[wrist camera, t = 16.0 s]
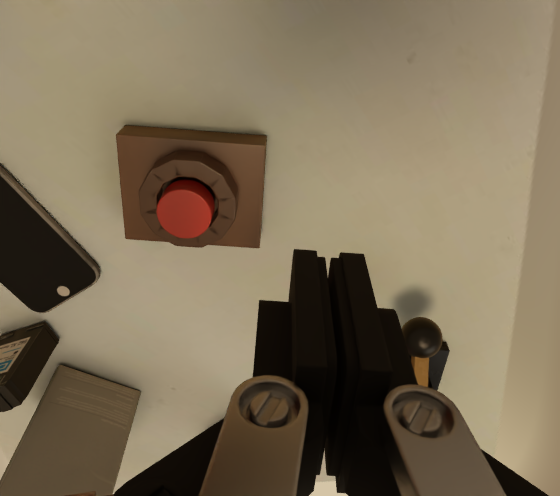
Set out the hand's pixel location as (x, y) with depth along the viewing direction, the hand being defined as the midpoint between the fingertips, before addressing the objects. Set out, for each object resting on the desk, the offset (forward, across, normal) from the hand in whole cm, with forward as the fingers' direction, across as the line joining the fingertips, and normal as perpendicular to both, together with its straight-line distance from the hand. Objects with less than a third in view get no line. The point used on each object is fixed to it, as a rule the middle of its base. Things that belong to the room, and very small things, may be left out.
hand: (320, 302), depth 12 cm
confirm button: (+22, +7, +8) cm, 24 cm away
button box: (+25, +7, +8) cm, 27 cm away
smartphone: (+25, +22, +13) cm, 36 cm away
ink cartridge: (+25, +22, +24) cm, 41 cm away
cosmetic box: (+25, +17, +31) cm, 43 cm away
